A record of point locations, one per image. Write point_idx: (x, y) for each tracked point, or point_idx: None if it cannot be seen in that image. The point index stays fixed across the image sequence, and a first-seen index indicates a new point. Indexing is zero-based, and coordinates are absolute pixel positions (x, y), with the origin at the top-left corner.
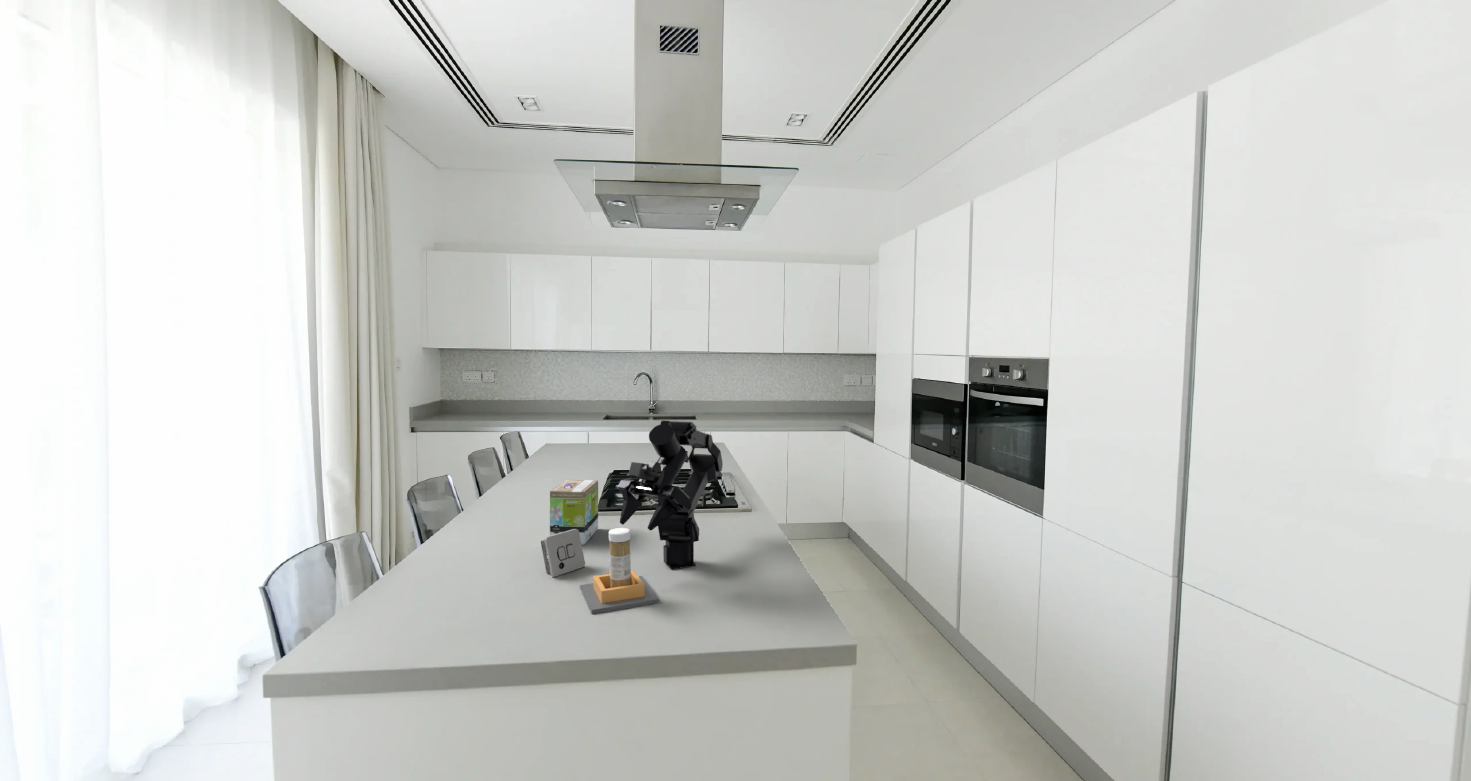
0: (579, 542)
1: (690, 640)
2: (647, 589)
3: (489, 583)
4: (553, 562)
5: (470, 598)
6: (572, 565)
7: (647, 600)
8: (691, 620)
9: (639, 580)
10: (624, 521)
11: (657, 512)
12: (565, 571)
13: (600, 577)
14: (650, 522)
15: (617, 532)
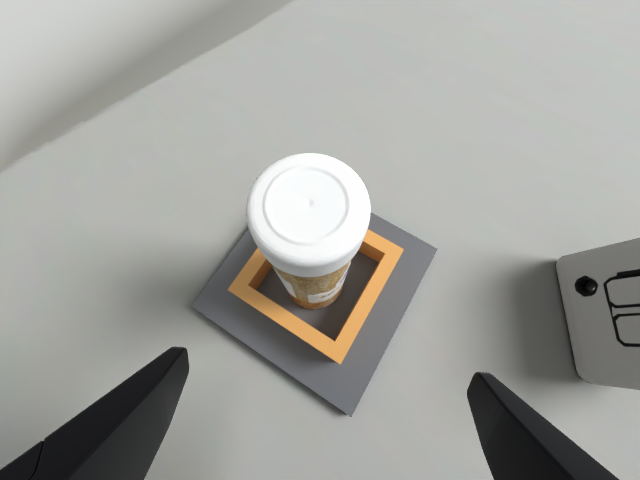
0: None
1: (30, 201)
2: (259, 336)
3: (620, 153)
4: (599, 256)
5: (557, 93)
6: (582, 326)
7: (212, 279)
8: (66, 273)
9: (262, 306)
10: (477, 411)
11: (26, 461)
12: (566, 299)
13: (382, 258)
14: (153, 374)
15: (288, 171)
